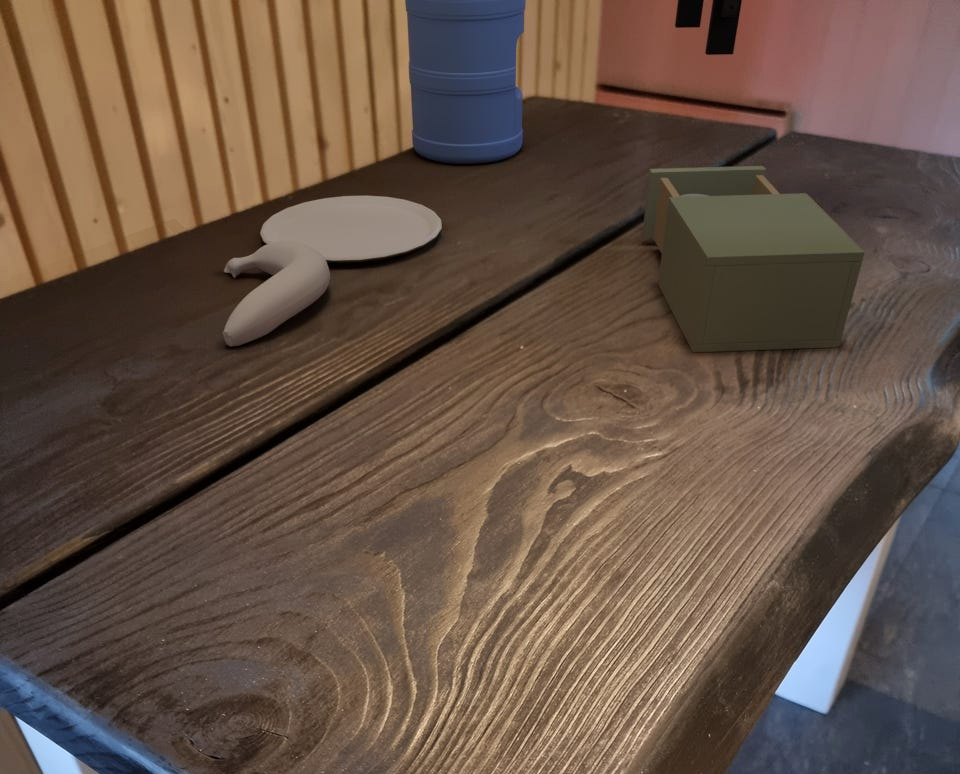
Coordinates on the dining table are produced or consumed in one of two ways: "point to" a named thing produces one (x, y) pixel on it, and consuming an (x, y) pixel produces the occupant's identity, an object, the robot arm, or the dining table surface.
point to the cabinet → (757, 272)
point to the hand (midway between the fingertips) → (702, 40)
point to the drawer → (697, 190)
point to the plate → (355, 227)
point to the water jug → (465, 79)
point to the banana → (276, 289)
